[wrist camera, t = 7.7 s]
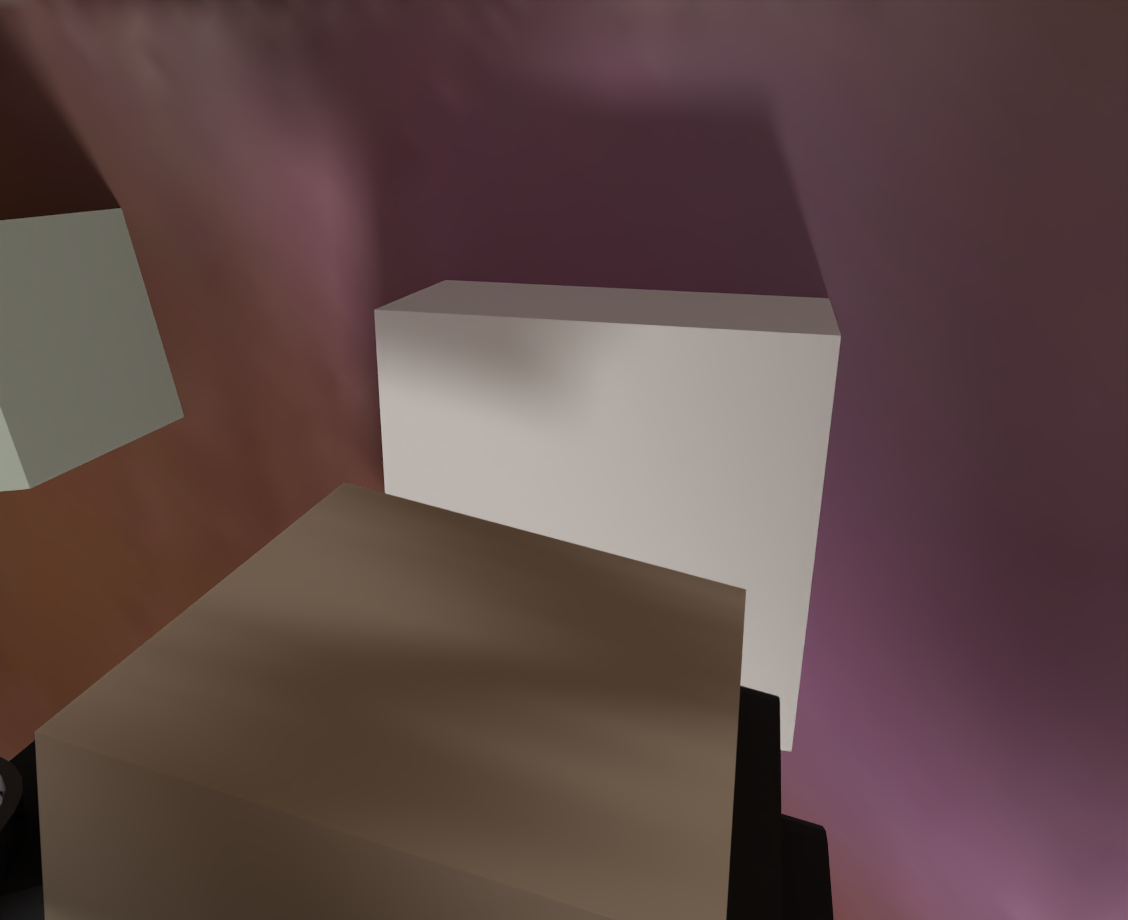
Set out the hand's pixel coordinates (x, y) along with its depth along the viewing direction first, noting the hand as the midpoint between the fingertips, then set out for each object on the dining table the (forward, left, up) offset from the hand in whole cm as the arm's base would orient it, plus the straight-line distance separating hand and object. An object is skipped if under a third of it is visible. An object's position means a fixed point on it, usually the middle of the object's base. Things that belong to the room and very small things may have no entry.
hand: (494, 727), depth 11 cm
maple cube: (0, 0, -1) cm, 1 cm away
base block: (0, 0, -10) cm, 10 cm away
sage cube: (+14, 0, -10) cm, 17 cm away
